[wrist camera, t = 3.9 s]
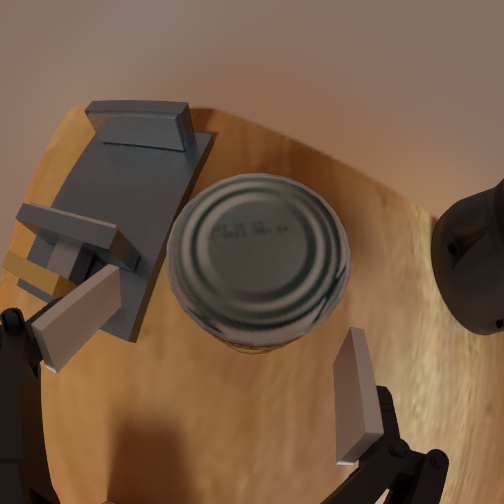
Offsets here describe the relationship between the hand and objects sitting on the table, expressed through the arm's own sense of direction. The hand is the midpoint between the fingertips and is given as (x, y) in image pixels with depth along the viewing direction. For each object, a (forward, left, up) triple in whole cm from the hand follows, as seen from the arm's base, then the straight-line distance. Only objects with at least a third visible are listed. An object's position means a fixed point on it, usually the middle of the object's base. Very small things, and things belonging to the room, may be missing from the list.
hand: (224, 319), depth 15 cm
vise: (+4, -16, -8) cm, 19 cm away
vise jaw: (+9, -12, -6) cm, 16 cm away
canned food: (-3, -1, -8) cm, 8 cm away
